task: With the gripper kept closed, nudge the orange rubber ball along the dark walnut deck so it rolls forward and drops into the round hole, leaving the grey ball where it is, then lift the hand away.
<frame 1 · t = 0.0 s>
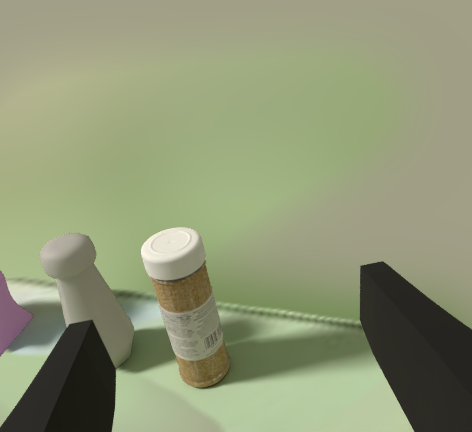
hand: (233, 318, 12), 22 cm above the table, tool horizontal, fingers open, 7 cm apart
salt shaker: (110, 356, 42), on the table
spice jar: (205, 370, 39), on the table
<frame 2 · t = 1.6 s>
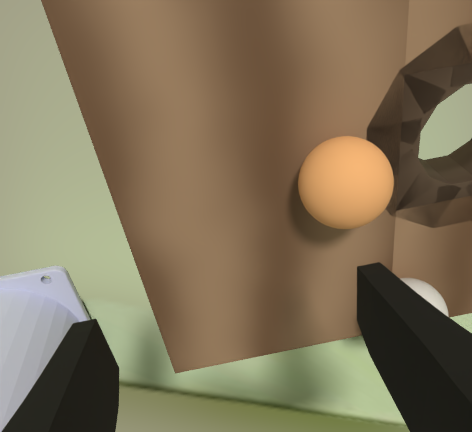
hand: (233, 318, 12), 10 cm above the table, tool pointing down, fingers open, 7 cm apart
orange ball: (344, 183, 17), point 4 cm above the table, touching deck
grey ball: (408, 314, 21), point 4 cm above the table, touching deck
deck: (335, 134, 20), on the table
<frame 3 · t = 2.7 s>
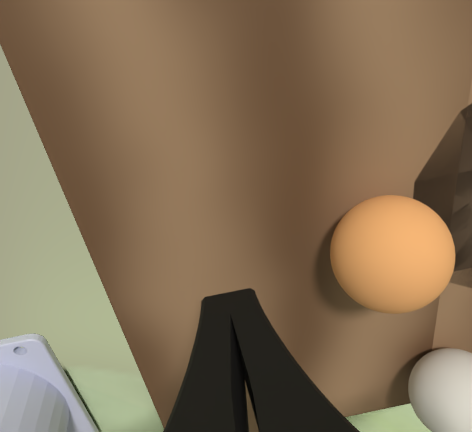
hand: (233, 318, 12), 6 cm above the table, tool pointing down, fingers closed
orange ball: (389, 253, 13), point 4 cm above the table, touching deck
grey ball: (455, 393, 18), point 4 cm above the table, touching deck
deck: (368, 180, 17), on the table
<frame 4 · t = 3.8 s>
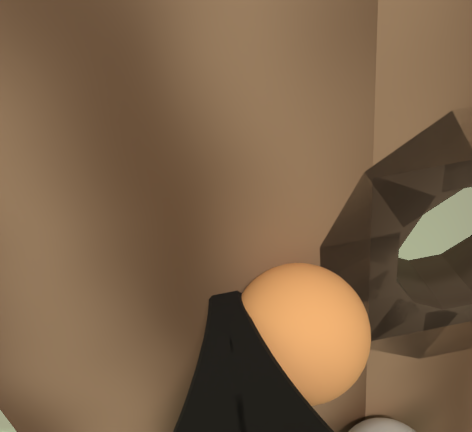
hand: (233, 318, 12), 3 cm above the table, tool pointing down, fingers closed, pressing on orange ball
orange ball: (299, 331, 11), point 4 cm above the table, tilted 15°, touching deck, gripper
deck: (285, 233, 15), on the table
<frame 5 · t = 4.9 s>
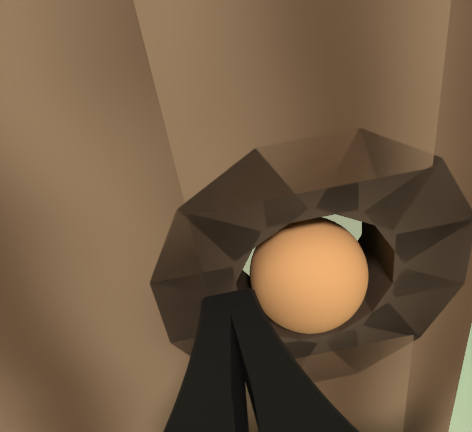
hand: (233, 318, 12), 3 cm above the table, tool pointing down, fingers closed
orange ball: (307, 273, 13), point 2 cm above the table, tilted 110°
deck: (146, 262, 15), on the table
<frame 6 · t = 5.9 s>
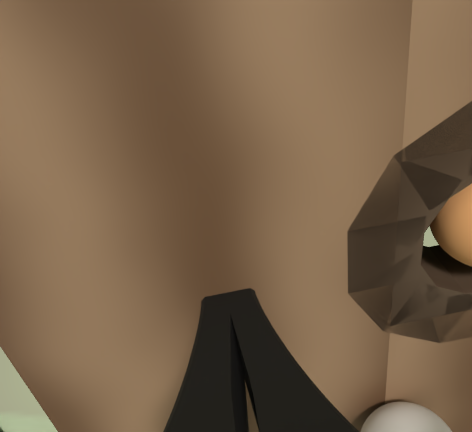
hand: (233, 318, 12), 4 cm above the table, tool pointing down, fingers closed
deck: (308, 220, 15), on the table
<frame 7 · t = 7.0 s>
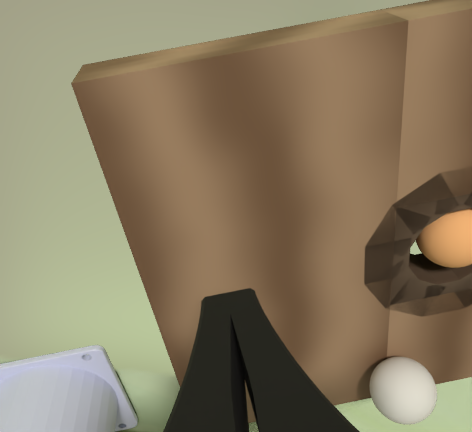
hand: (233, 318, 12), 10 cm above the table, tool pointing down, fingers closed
orange ball: (452, 232, 22), point 2 cm above the table, tilted 96°
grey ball: (402, 389, 25), point 4 cm above the table, touching deck
deck: (338, 238, 24), on the table
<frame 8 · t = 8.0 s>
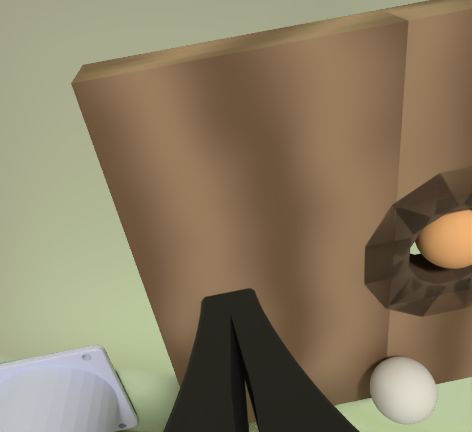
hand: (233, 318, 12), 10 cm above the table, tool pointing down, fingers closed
orange ball: (451, 233, 22), point 2 cm above the table, tilted 97°
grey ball: (402, 389, 25), point 4 cm above the table, touching deck
deck: (338, 238, 24), on the table
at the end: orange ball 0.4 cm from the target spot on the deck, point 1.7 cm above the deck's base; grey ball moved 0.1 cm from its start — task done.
